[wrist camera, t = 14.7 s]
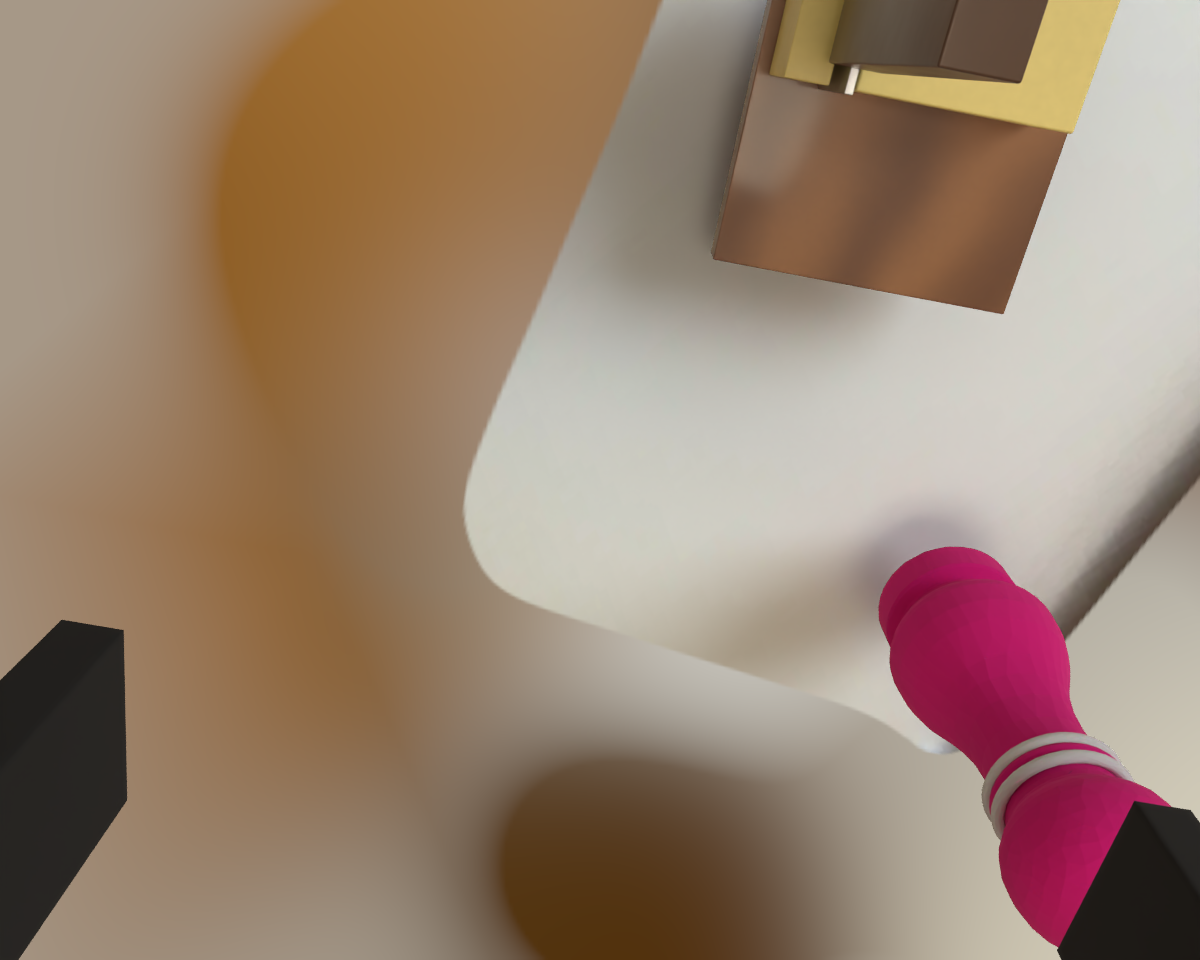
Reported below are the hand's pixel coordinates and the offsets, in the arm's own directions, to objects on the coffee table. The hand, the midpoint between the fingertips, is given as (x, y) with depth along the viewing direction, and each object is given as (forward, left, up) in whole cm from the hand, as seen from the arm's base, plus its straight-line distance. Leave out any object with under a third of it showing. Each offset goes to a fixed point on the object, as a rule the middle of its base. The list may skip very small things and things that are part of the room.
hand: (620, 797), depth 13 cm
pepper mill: (+17, -12, -31) cm, 37 cm away
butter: (+8, +11, -29) cm, 32 cm away
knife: (+6, +11, -29) cm, 32 cm away
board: (+9, +8, -31) cm, 33 cm away
